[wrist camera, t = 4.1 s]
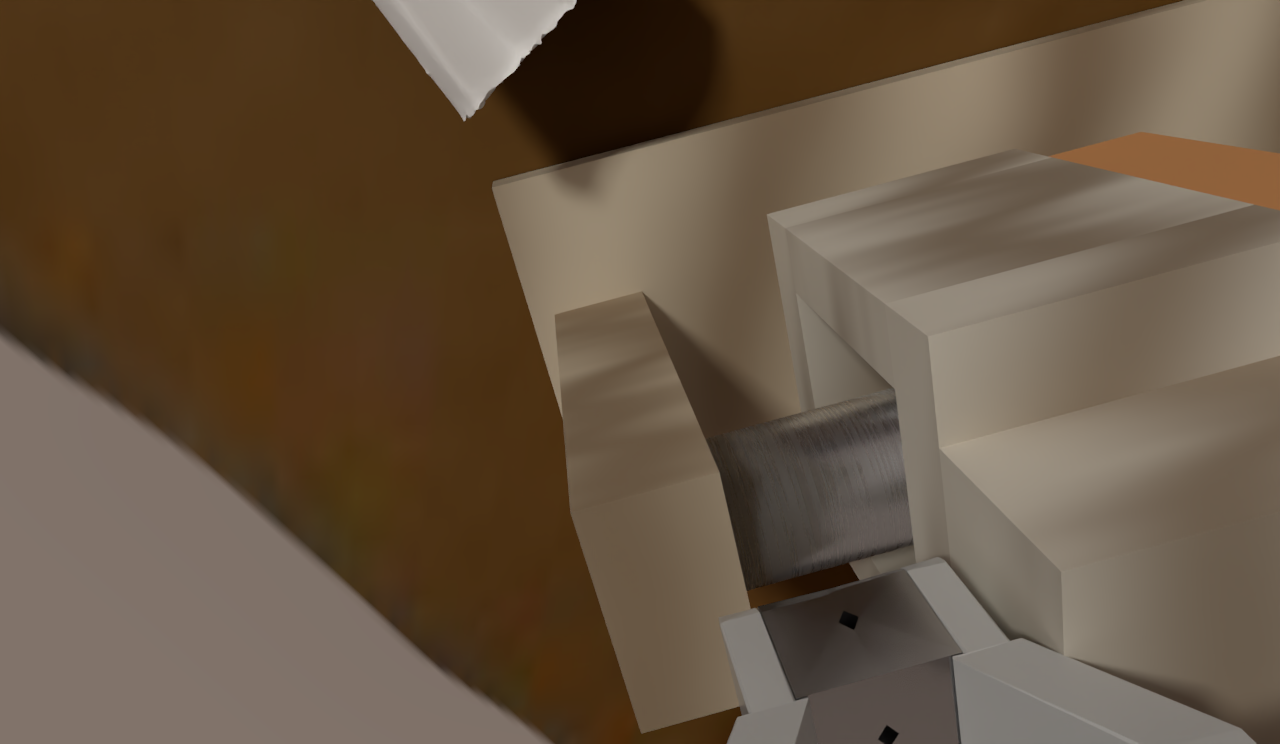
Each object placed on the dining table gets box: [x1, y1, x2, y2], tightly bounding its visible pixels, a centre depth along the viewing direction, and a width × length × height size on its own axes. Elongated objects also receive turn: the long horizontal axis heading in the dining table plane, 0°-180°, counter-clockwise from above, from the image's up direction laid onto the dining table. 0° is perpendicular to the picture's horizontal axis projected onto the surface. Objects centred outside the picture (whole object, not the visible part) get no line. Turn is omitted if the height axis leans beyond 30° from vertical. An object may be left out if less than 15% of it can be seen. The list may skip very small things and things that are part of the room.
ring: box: [1048, 132, 1280, 210], centre depth 14 cm, size 2×6×6 cm, turn 13°
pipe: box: [705, 388, 914, 591], centre depth 13 cm, size 19×3×3 cm, turn 103°
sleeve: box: [767, 149, 1280, 744], centre depth 13 cm, size 5×7×10 cm
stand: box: [492, 0, 1280, 734], centre depth 16 cm, size 24×10×9 cm, turn 103°
